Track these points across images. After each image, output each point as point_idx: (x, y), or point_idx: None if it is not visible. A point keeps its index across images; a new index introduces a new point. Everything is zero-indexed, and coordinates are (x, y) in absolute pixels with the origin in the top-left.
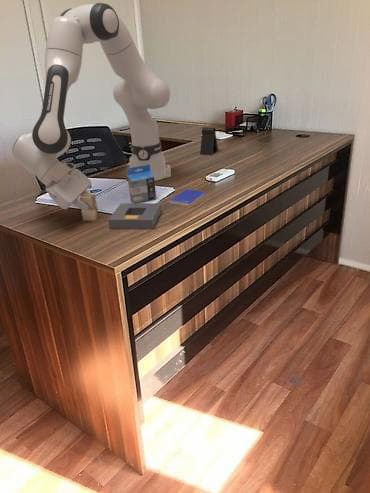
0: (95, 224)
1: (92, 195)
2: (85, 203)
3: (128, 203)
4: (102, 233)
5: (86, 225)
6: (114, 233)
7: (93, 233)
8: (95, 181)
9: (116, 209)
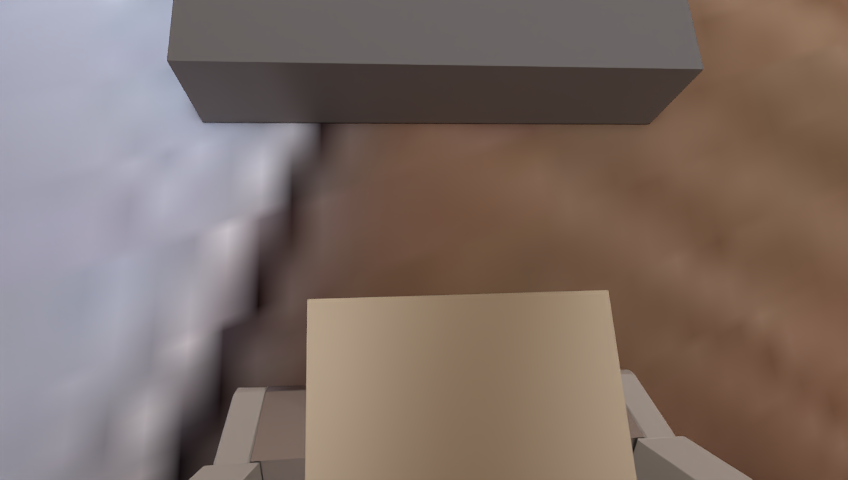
0: None
1: (446, 316)
2: None
3: None
4: (760, 156)
5: None
6: (731, 56)
7: (784, 239)
8: None
9: (392, 59)
